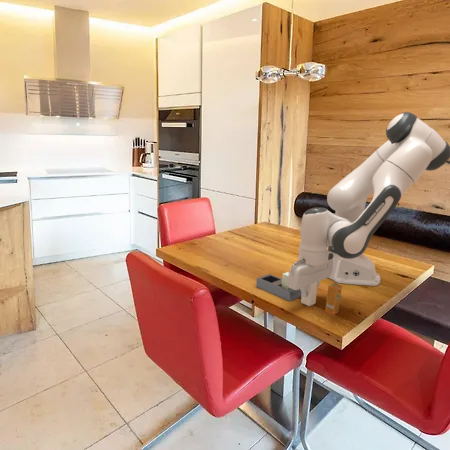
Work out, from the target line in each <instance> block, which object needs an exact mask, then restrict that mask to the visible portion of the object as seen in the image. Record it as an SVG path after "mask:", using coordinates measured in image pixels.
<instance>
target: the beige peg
mask: <svg viewBox="0 0 450 450" xmlns="http://www.w3.org/2000/svg"><path fill="white" fill-rule="evenodd" d="M288 276H289V271H286V272H284V273H282V275H281V279H282V288H285V289H287V290H290V289H291V288H289V287H288Z"/></svg>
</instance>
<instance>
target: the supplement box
mask: <svg viewBox="0 0 450 450" xmlns="http://www.w3.org/2000/svg"><path fill="white" fill-rule="evenodd" d="M342 288H343V285H341V284H340V283H337V282H332V283H330V284H329V285H328V288H327V293H326V302H325V303H326V304H325V311H324V312H325V313H328V314H330V315H333V316H335V315H336V314H338V313H339V310H340V303H341V298H342V297H341V296H342V290H343V289H342Z"/></svg>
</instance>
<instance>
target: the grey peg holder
mask: <svg viewBox="0 0 450 450" xmlns="http://www.w3.org/2000/svg"><path fill="white" fill-rule="evenodd" d="M255 283H256V284H255V285H256V286H255V287H256V288H258V289H260V290H263V291H265V292H267V293H270V294H272V295H274V296H276V297H279V298H280V299H283V300H286V301H288V302H291V301H295V300H296V299H298V298H301V290H300V289H299V290H294V289H290V290H287V289H285V288H282V277H281V278H280V277H279V276H276V275H273V274H272V273H271V274H270V273H268V274H264V275H262V276H259V277H256V282H255Z"/></svg>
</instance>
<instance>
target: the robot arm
mask: <svg viewBox="0 0 450 450" xmlns="http://www.w3.org/2000/svg"><path fill="white" fill-rule="evenodd" d="M385 136H386V138H387V139H388V140H387V141H386V142H384V143H383V144H381V146H379V148H377V149H376V150H375V151H374V152H373V153H372V154H370V155H369V156H368V158H366V159H364V161H363V162H362V163H361V164H360V165H358V166H357V167H356V168H355V169H354V170H352V171H351V172H350V173H348V174H347V175H346V176H344V177H343V178H342V179H341V180H339V182H337V183H336V184H335V185H334V186H333V187H331V189H330V190H329V191H328V193H327V196H326V198H327V199H326V201H327V204H328V206H329V207H330V209H332V210H333V211H335V213H332V212H331V211H330V210H328V208H325V207H312V208H309V209H307V210H305V212H303V215H302V217H301V224H300V232H299V233H300V234H299V235H300V242H299V247H298V248H299V249H298V258H297V259H298V260H297V261H294V262H293V264H292V265H291V266H290V268H289V271H288V272H289V276H288V287H289V288H291V289H294V290H299V289H300V290H301V296H302V297H304V298H305V297H307V296H308V292H307V291H306V288H307V286H308V285H311V284H313V283H315V282H317V289H318V287H319V286H320V284H321V281H323V280H325V279H327V278H328V279H330V280H332V281H334V283H337V284H345V285H355V286H356V285H357V286H358V285H359V286H371V287H372V286H373V287H376V286H379V285H380V284H381V275H380V274H379V273H377V272H376V266H375V263H374V262H373V261H372V260H371V259H370V258H369V257H368V256H366V255H365V251H366V250H367V247H368V245H369V243H370V241H371V238H372V237H373V235H374V234H375V233H376V231H377V230H378V229H379V227H381V226H382V224H383V223H384V221H386V219H387V218H388V217H389V216H390V214H391V213H392V212H393V211H394V209H395V208H396V206H397V205H398V204H399V202H400V200H401V198H402V197H403V196H404V195H405V193H406V192H407V191H408V190H409V189H410V188H411V187H412V186H413V185H414V184H415V183H416V181H417V180H418V179H419V178H420V177H421V176H422V175H423V173H424V172H425V171H430V172H431V171H435V170H438V169H439V168H440V169H441V167H442V166H444V165H445V164H446V163H447V162H448V161H449V160H450V144H449V143H448V142H447V141H445V140H444V139H443V137H442V136H441V135H440V134H439V133H438V132H437V131H436V130H435V129H434V128H432V127H431V126H430V125H428V124H427V123H426V122H424V121H422V119H420V118H418V116H417V115H416V114H414V113H412V112H410V111H405V112H402V113H400V114H398V115H396V116H394V118H392V119H391V121H390V122H389V124H388V125H387V128H386V129H385ZM371 194H373V197H372V199H371V202H370V203H369V204H368V205H367V206H366V204H367V200H368V197H369V196H371Z"/></svg>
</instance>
